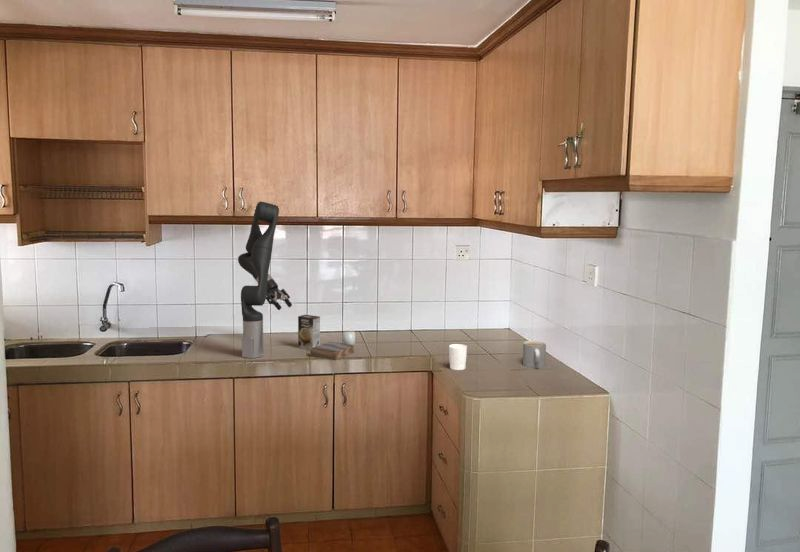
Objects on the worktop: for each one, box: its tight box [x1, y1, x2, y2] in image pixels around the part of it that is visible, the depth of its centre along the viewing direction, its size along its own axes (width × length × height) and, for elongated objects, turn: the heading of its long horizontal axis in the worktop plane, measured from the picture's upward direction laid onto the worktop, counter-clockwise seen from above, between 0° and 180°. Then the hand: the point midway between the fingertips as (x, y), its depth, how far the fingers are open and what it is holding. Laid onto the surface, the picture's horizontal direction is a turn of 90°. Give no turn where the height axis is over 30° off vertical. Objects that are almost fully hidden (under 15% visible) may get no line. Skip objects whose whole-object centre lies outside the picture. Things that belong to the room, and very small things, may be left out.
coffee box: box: [297, 314, 321, 351], centre depth 319 cm, size 9×6×16 cm
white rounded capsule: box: [342, 330, 356, 350], centre depth 320 cm, size 6×6×8 cm
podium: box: [310, 341, 355, 361], centre depth 307 cm, size 16×14×4 cm
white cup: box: [448, 343, 468, 371], centre depth 285 cm, size 8×8×10 cm
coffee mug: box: [522, 340, 547, 369], centre depth 290 cm, size 13×10×10 cm
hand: (285, 307), depth 324 cm, fingers open, 8 cm apart
